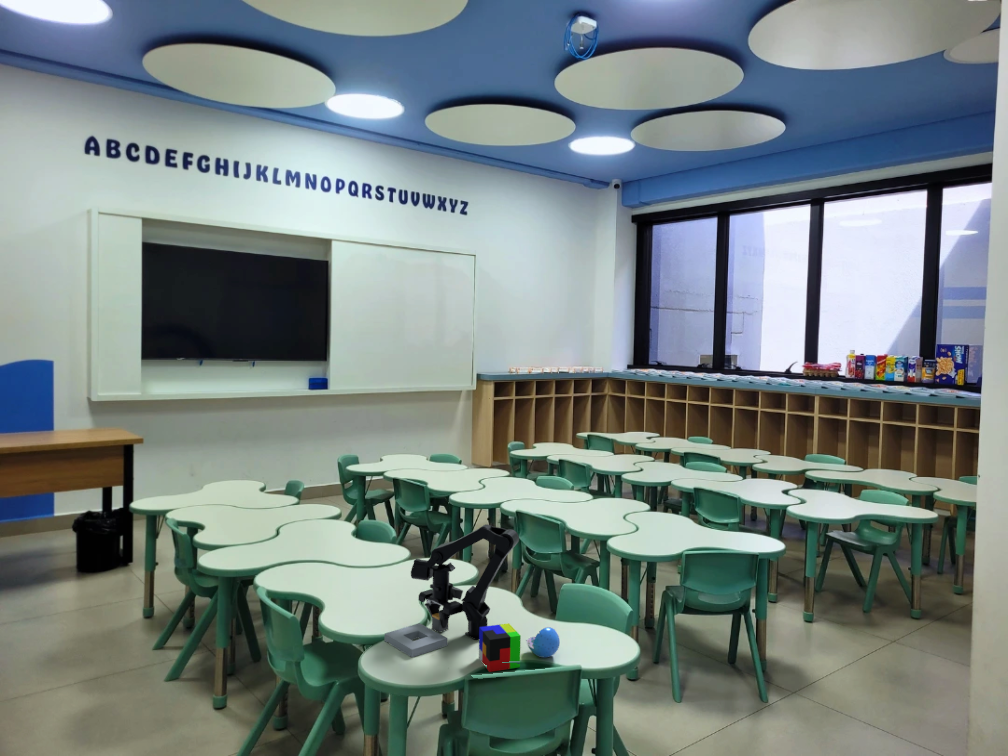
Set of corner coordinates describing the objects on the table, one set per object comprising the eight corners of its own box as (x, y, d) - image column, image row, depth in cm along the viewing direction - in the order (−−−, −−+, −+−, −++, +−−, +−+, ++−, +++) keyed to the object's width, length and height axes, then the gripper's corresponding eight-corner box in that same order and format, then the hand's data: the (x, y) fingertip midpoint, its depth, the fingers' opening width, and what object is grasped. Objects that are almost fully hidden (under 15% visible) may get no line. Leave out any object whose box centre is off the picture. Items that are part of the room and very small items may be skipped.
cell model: (543, 645, 233) (544, 616, 232) (565, 659, 222) (566, 629, 222) (518, 651, 227) (519, 622, 227) (540, 666, 217) (541, 636, 217)
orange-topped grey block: (448, 629, 243) (448, 615, 243) (438, 632, 241) (439, 618, 240) (441, 625, 246) (441, 611, 246) (431, 628, 244) (432, 614, 243)
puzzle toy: (478, 658, 222) (479, 627, 222) (508, 653, 226) (508, 623, 225) (489, 672, 213) (489, 639, 212) (519, 667, 216) (520, 635, 216)
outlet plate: (447, 645, 231) (447, 638, 231) (411, 657, 221) (412, 649, 221) (419, 630, 243) (419, 623, 242) (384, 640, 233) (384, 633, 233)
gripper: (476, 584, 241) (475, 628, 242) (443, 570, 255) (442, 612, 256) (450, 591, 234) (449, 637, 235) (417, 576, 248) (417, 620, 248)
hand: (440, 626), depth 243 cm, fingers closed on orange-topped grey block, 4 cm apart
